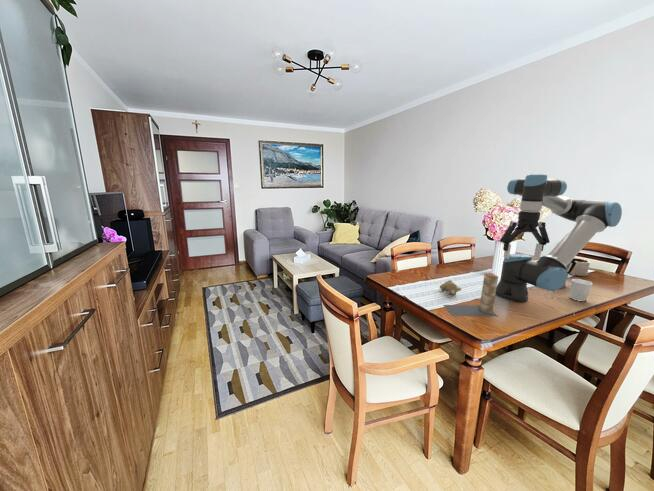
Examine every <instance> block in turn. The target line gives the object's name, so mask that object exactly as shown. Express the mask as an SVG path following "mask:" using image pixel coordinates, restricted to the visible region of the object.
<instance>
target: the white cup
mask: <svg viewBox="0 0 654 491" xmlns="http://www.w3.org/2000/svg"><path fill="white" fill-rule="evenodd" d="M570 282H571V283H570V289H569V295H568V296H569V297H570V298H572V299H576V300H581V301H585V300H586V301H587V300H588V297H589V294H590V292H591V289H592V287H593V286H592V285H593V282H592V281H590V280H585V279H582V278H581V279H580V278H572V279H571V281H570ZM570 298H569V299H570ZM572 299H571V300H572Z"/></svg>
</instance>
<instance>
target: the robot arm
mask: <svg viewBox="0 0 654 491" xmlns="http://www.w3.org/2000/svg"><path fill="white" fill-rule="evenodd" d="M506 189H507V193H508V194H510V195H514V196H517V195H518V196H521V201H520V207H519V210H520V211H518V217H517V218H518V221H517V222H515V221H510V222H509V225H508V226H509V227H507V229H506V231H505V232H504V233H503V234H502V236H501V238H500V239H499V242H501V243H503V248H502V249H503V261H502V265H501V266H502V267H501V275H500V280H499V281H498V282H497V287H496V293H495V296H496V297H498V298H501V299H504V300H507V301H511V302H514V303H515V302H518V303H523V302H527V301H528V299H529V291H528V288H527V287H528V286H527V284H528V285H531V286H534V287H537V288H539V289H541V290H545V291H549V292H551V291H557V290H559V289H562V288H561V287H562V286H563V285H564V284H565V285H566V282H567V279H568V277H569V276H568V275H569V274H568V273H567V267H566V266H567V265H568V264H569V263H570V262H571V261H572V259H573V258H576V256H577V255H578V254H579V253H580V252H581V251H582V249H583V248H584V247H585V246H586V245H587V244H588V242H590V241H591V240H592V239H593V237H595V235H596V234H597V233H601V232H604V231H605V230H606V228H608V227H609V228H613V227H616V226H618V224H619V223H620V221H621V218H622V214H623V209H622V205H621V204H620V203H619V202H616V201H612V200H611V201H610V200H606V201H605V200H596V199H595V200H593V199H583V198H582V199H581V198H579V199H578V198H570V197H568V196H562V195H563V194H565V192H566V191H567V189H568V185H567V182H566V181H565V180H563V179H561V178H548V174H544V173H543V174H541V173H540V174H533V173H532V174H531V173H530V174H529V173H528V174H527V175H526V176H525V178H513V179H511V180H510V181H508V184H507V185H506ZM542 207H545V208H547V209H549V210H550V211H551V213H553V214H555V215H556V216H558V217H561V218H563V219H565V220H567V221H571V222H575V224H574V225H573V227H572V228H571V229H570V230H569V231H568V232H567V233H566V234H565V235H564V236H563V237H562V239H561V240H560V241H559V242H558V243H557V244H556V245H555V247H553V249H552V250H551V251H550V252H548V254H547V255H543V256H541V254H542V252H543V251H544V247H545V246H547V244H549V243H551V242H550V238H549V235H548V232H547V228H546V224H547V223H546V222H543V221H540V218H541V211H542ZM537 228H538V229H537ZM522 233H531V234H532V235H533V237H534V238H535V239H536V241H537V243H535V248H534V255H533V257H532V255H530V254H525V253H524V254H522V253H511V249H512V248H511V247H512V244H511V243H512V242H513V241H514V240H515V239H516V238H517V237H519V235H520V234H522ZM533 258H535V259H537V261H536V260H533Z"/></svg>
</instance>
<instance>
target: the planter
mask: <svg viewBox="0 0 654 491" xmlns="http://www.w3.org/2000/svg"><path fill="white" fill-rule="evenodd" d="M572 260H574V261H575V262H576V265H575V267H574V268H573V270H572V271H571V273H569V274H568V275H571V274H574V275H573V276H575V275H578V276H577V277H587V275H588V273H589V269H590V264H591V261H590V260H588V259H584V258H578V257H574V258H573V259H572ZM571 265H572V263H571V264H570V266H569V268H568V270H567V272H568V271H569V269H570V268H571Z"/></svg>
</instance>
